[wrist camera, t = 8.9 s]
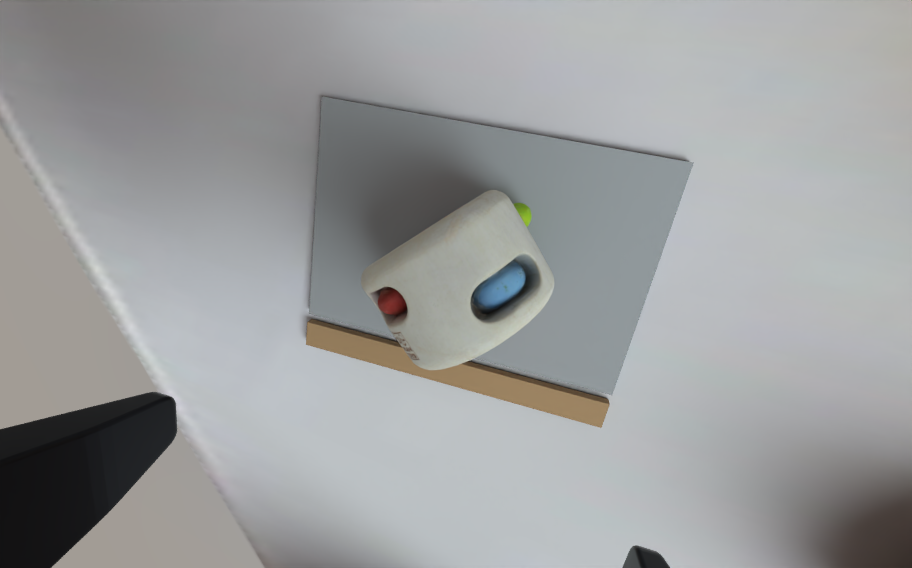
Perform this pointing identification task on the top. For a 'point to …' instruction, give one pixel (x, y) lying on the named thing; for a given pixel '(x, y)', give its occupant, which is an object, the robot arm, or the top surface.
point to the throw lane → (552, 227)
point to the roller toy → (462, 283)
